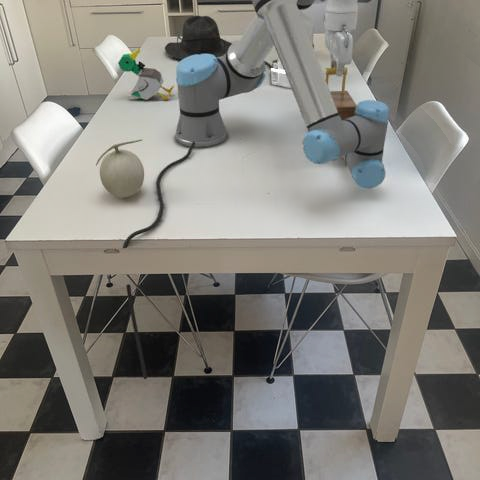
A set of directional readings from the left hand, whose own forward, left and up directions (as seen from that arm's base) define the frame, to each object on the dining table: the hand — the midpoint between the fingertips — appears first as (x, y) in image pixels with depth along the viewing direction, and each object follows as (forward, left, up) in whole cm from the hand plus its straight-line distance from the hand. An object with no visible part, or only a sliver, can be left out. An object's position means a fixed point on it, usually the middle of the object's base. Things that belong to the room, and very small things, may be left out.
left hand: (337, 116), depth 151 cm
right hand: (+7, +3, +11) cm, 13 cm away
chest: (+3, +1, -6) cm, 7 cm away
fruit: (-50, +44, -6) cm, 67 cm away
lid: (+3, +1, +3) cm, 5 cm away
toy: (+14, +70, -6) cm, 72 cm away
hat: (+76, +76, -6) cm, 107 cm away
